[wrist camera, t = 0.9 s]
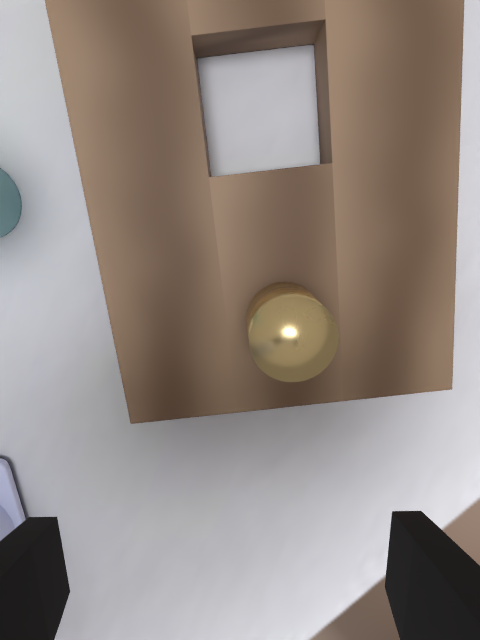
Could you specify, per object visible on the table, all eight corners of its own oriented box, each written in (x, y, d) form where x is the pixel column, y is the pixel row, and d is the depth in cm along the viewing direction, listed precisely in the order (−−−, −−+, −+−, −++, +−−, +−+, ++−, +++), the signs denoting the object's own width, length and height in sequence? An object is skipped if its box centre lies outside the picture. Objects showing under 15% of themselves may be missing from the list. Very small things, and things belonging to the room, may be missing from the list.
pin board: (141, 402, 19) (110, 466, 14) (55, -41, 15) (-33, -168, 10) (429, 371, 19) (497, 425, 14) (436, -88, 14) (539, -242, 10)
